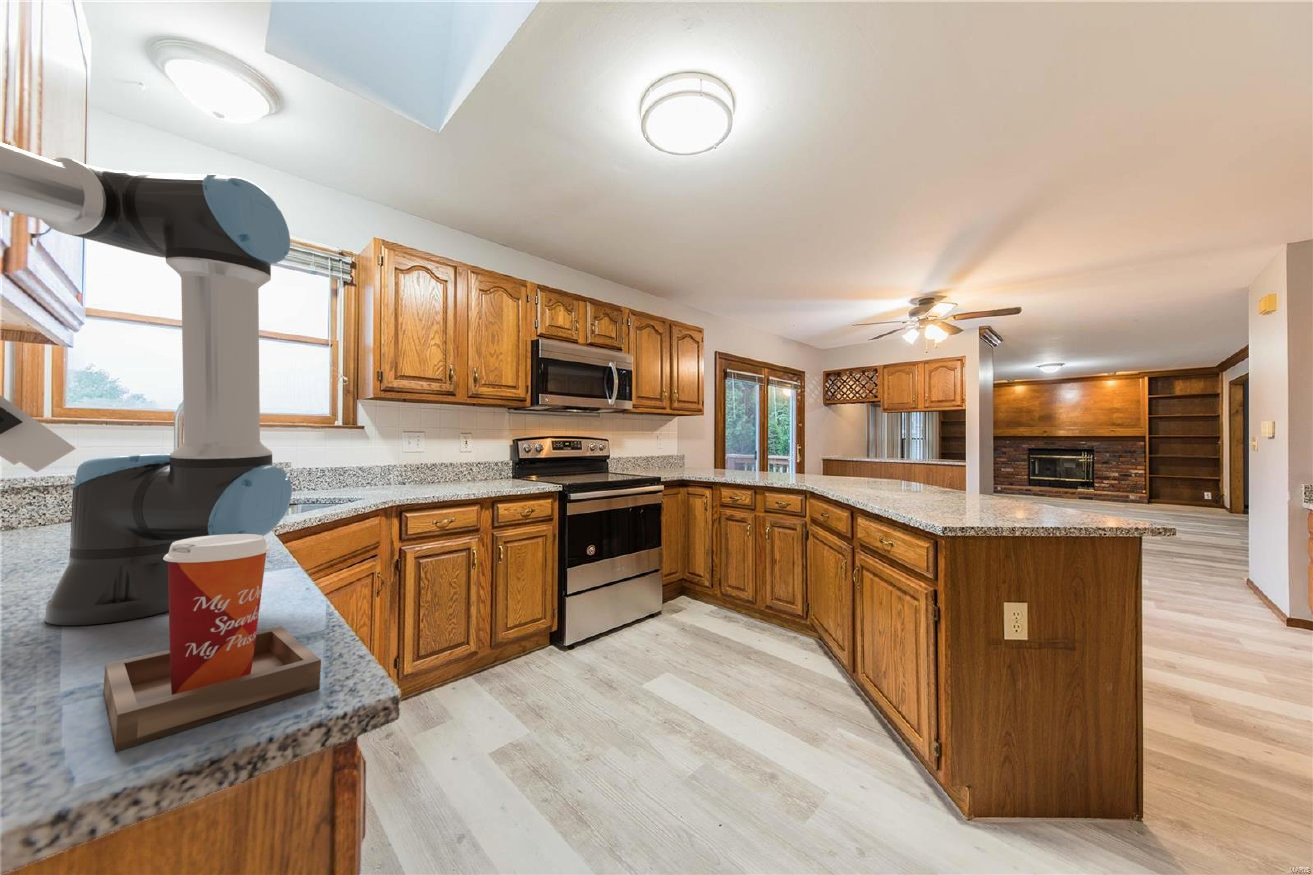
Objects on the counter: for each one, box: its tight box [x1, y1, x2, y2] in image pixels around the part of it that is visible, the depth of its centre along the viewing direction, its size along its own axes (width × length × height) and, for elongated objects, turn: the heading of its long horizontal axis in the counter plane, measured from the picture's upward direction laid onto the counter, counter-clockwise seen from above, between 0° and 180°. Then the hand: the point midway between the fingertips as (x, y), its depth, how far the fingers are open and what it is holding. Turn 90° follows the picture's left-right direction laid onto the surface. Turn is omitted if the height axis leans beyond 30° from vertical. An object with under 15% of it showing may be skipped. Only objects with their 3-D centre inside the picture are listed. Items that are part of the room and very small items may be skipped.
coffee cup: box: [163, 534, 272, 695], centre depth 50 cm, size 8×8×15 cm
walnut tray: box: [102, 626, 322, 752], centre depth 50 cm, size 14×14×3 cm
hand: (43, 457), depth 42 cm, fingers open, 13 cm apart
